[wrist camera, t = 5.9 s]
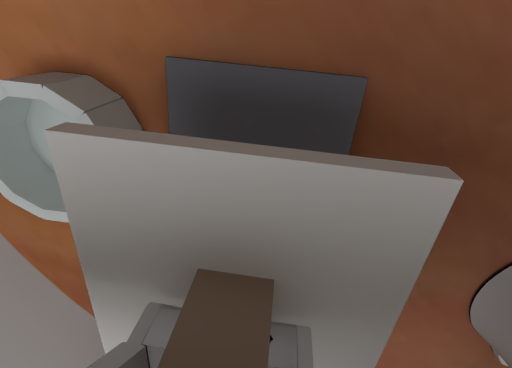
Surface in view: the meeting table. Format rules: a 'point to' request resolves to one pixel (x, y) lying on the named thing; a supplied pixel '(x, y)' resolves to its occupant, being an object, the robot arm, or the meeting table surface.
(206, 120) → the mat
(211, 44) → the meeting table surface
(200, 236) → the lid
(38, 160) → the bowl
